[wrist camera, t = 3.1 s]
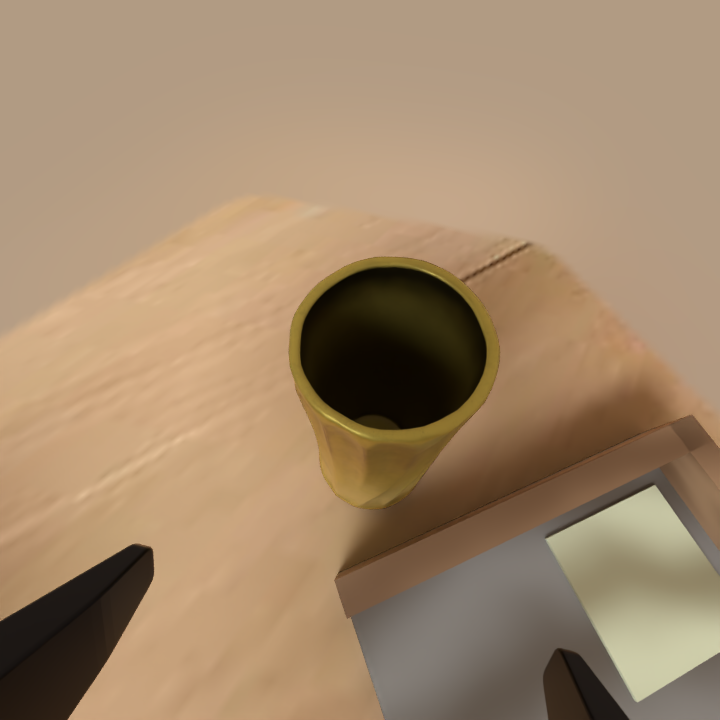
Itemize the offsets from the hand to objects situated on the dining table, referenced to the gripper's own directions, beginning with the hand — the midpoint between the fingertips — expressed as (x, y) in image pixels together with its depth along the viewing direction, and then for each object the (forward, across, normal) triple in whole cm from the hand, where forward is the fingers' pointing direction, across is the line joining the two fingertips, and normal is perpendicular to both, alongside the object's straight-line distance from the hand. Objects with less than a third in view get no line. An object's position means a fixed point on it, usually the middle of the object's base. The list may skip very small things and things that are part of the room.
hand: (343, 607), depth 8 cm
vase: (+13, 0, +5) cm, 14 cm away
